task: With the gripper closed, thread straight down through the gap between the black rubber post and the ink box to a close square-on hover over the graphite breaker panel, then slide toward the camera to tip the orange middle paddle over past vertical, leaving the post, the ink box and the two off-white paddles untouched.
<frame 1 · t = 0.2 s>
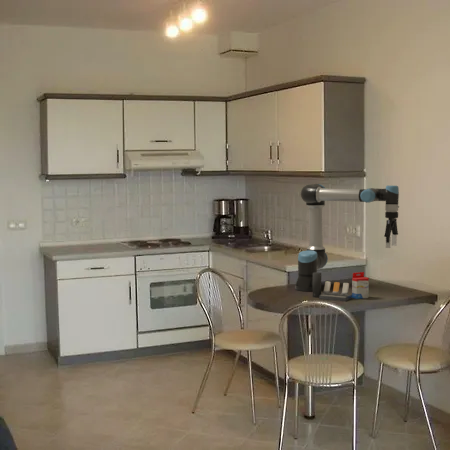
hand: (391, 246, 428), 28 cm above the table, fingers open, 13 cm apart
post: (316, 296, 418), on the table
paddle left: (327, 287, 416), point 6 cm above the table, hinge at -25.0°
ink box: (360, 298, 414), on the table
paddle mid: (336, 288, 413), point 6 cm above the table, hinge at -25.0°
panel: (335, 298, 413), on the table
paddle right: (345, 288, 410), point 6 cm above the table, hinge at -25.0°
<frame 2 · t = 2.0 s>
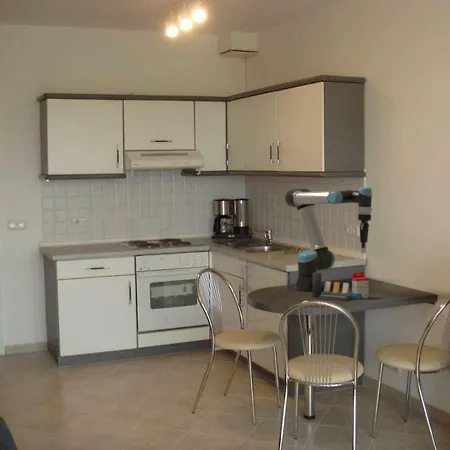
hand: (363, 253, 425), 24 cm above the table, fingers closed
nothing on the table moved.
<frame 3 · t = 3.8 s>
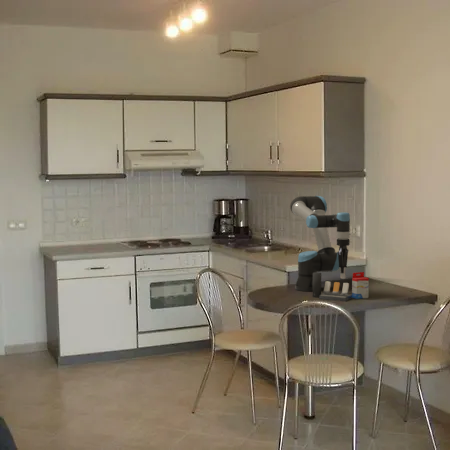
hand: (342, 278, 422), 10 cm above the table, fingers closed
nothing on the table moved.
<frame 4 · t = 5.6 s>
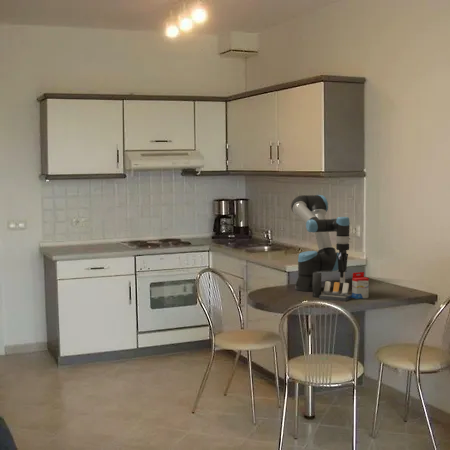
hand: (342, 282, 422), 7 cm above the table, fingers closed
nothing on the table moved.
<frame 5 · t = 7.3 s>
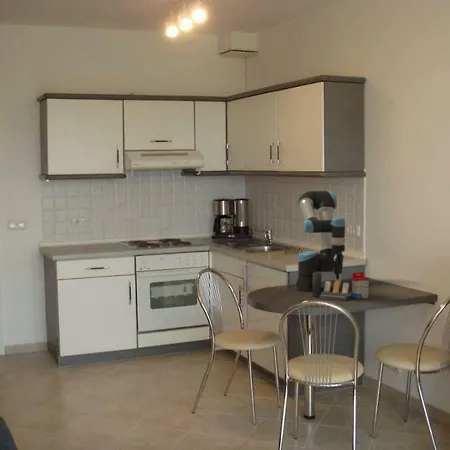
hand: (338, 284, 415), 7 cm above the table, fingers closed
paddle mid: (336, 288, 413), point 6 cm above the table, hinge at -25.0°, touching gripper
everything else where it was.
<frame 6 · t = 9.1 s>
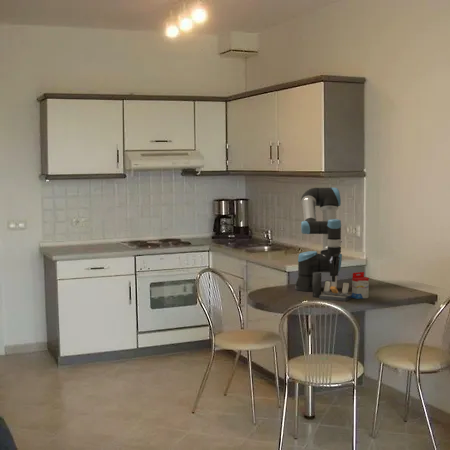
hand: (334, 287, 409), 7 cm above the table, fingers closed
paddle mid: (334, 290, 410), point 5 cm above the table, hinge at 53.1°, touching gripper
everything else where it was.
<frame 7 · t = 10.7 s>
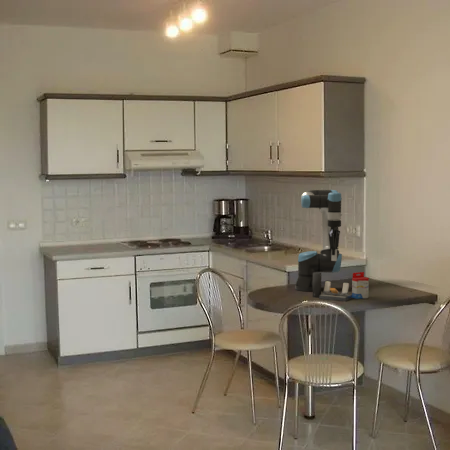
hand: (334, 260, 408), 22 cm above the table, fingers closed
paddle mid: (334, 291, 410), point 5 cm above the table, hinge at 61.9°
everything else where it was.
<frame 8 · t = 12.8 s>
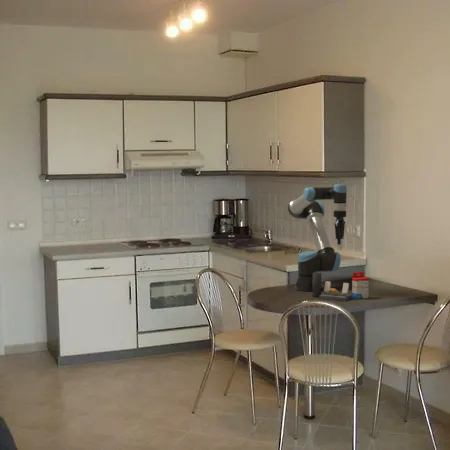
hand: (339, 249, 426), 26 cm above the table, fingers closed
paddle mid: (334, 291, 410), point 5 cm above the table, hinge at 63.1°
everything else where it was.
at the end: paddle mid at +63° (first picture: -25°); post moved 0.0 cm from its start; ink box moved 0.8 cm from its start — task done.
